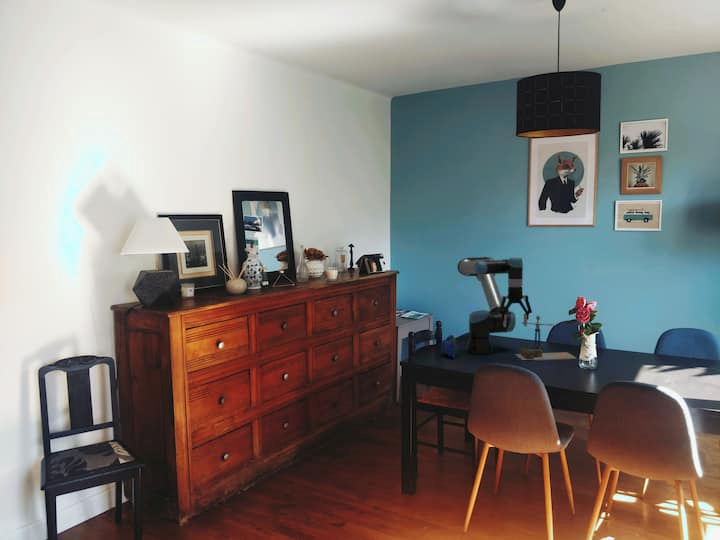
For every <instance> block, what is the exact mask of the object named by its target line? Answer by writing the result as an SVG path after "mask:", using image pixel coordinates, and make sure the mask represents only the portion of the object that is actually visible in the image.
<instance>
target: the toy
mask: <svg viewBox="0 0 720 540" xmlns="http://www.w3.org/2000/svg"><path fill="white" fill-rule="evenodd" d="M440 349H441V353H442V354H443V353H444V354H447V355H446V356H449V357H451V358H452V357H453V358H455V359H456V355H457V354H458V350H459V345H458V340H457V339H455V335H453V334H449V335H448V336H447V337H446V338H445V339H443V340H442V341H441V344H440ZM444 354H443V355H444ZM453 358H452V359H453Z"/></svg>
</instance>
